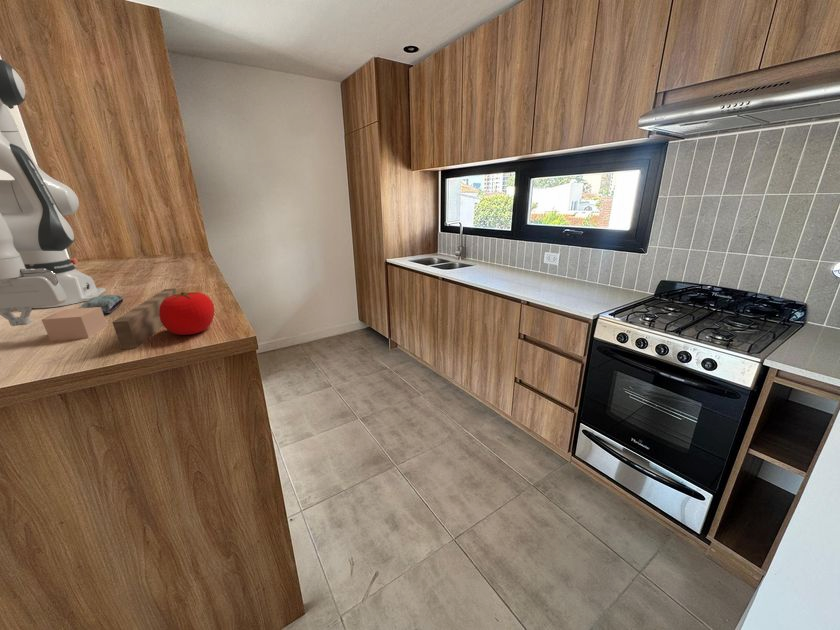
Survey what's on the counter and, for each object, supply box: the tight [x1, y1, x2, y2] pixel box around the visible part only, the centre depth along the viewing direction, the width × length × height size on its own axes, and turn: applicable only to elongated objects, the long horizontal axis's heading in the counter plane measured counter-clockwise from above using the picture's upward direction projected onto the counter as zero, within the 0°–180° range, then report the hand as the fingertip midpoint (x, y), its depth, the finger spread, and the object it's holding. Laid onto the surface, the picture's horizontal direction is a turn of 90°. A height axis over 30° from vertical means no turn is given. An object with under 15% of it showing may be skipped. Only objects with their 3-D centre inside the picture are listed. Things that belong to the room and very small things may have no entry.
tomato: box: [159, 291, 215, 336], centre depth 87 cm, size 12×13×11 cm
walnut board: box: [112, 288, 178, 350], centre depth 91 cm, size 30×3×7 cm, turn 17°
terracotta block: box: [41, 307, 109, 342], centre depth 86 cm, size 8×8×6 cm
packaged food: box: [77, 294, 124, 315], centre depth 103 cm, size 9×12×5 cm
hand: (21, 324), depth 83 cm, fingers closed
